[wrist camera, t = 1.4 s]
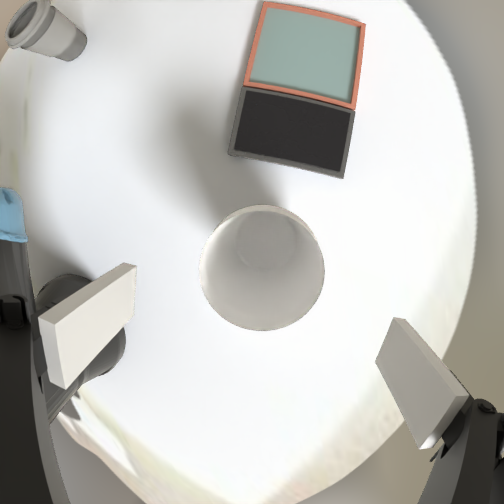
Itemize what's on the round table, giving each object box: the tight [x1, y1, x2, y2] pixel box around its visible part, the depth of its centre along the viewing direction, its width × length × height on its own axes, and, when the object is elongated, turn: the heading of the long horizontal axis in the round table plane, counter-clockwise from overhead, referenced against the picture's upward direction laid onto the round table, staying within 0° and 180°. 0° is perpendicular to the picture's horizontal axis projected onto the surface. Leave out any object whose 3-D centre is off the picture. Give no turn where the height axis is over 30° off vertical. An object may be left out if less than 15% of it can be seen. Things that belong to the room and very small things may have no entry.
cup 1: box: [5, 0, 87, 61], centre depth 21 cm, size 7×7×12 cm
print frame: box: [243, 2, 366, 111], centre depth 26 cm, size 12×12×1 cm
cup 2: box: [199, 205, 325, 331], centre depth 26 cm, size 9×9×12 cm
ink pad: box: [228, 87, 355, 179], centre depth 28 cm, size 12×8×2 cm, turn 79°
